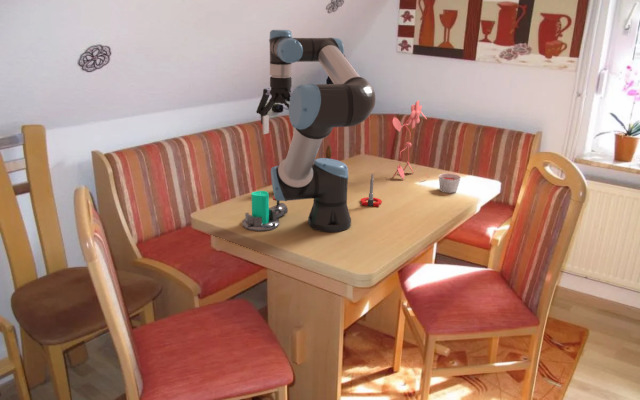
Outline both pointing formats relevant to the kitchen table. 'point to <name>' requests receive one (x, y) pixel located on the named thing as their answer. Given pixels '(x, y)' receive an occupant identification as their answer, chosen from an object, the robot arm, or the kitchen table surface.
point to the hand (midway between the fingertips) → (280, 136)
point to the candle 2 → (449, 182)
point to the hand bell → (328, 152)
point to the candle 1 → (260, 205)
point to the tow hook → (371, 197)
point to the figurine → (415, 120)
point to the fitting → (274, 212)
